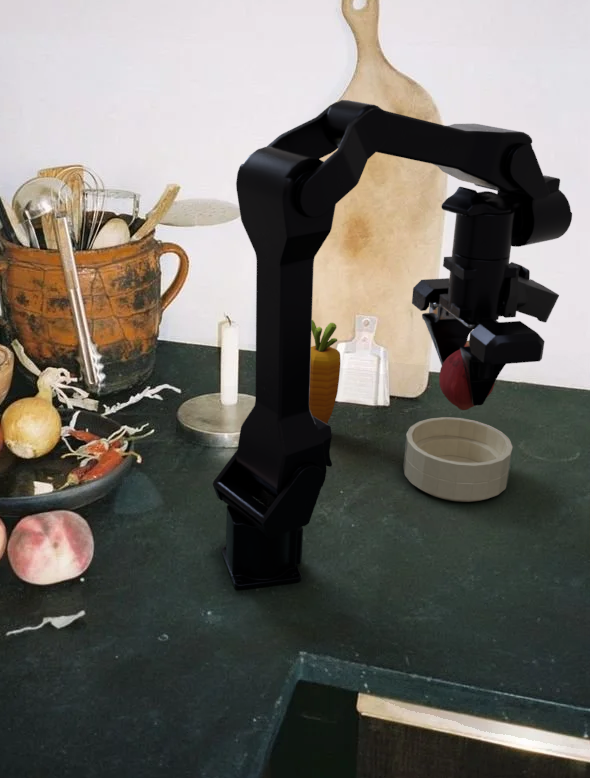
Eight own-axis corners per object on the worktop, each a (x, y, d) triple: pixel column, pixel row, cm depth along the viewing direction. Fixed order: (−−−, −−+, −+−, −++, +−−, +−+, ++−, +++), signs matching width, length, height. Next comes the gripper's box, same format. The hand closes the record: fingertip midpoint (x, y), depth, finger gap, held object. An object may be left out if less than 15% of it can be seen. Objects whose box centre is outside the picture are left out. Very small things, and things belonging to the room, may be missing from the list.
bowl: (428, 510, 101) (432, 469, 99) (388, 459, 111) (391, 421, 109) (525, 499, 103) (531, 459, 101) (477, 450, 114) (482, 413, 112)
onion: (491, 424, 98) (500, 353, 95) (435, 418, 99) (442, 348, 96) (489, 401, 103) (498, 333, 100) (436, 395, 104) (443, 328, 102)
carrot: (291, 426, 119) (296, 315, 113) (328, 422, 120) (334, 312, 115) (305, 444, 114) (311, 329, 109) (343, 439, 116) (351, 325, 110)
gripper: (604, 276, 88) (579, 425, 94) (508, 226, 105) (492, 355, 111) (496, 282, 86) (477, 434, 91) (416, 230, 103) (404, 361, 108)
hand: (464, 392), depth 100 cm, fingers closed on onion, 6 cm apart
